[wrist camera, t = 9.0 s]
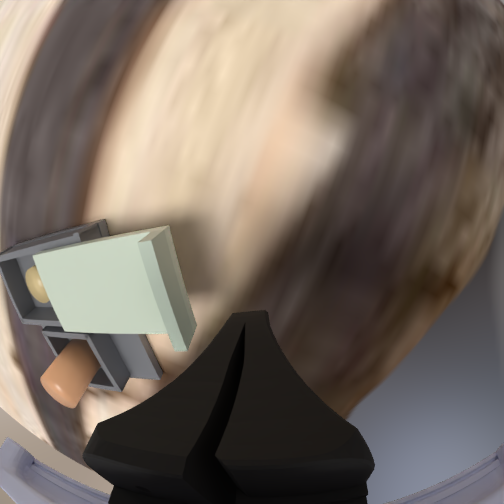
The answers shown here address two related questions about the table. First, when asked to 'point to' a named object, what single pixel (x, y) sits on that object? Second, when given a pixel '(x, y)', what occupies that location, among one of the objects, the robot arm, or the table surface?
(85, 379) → the tan cylindrical peg
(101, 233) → the housing
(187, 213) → the table surface
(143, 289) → the lid
